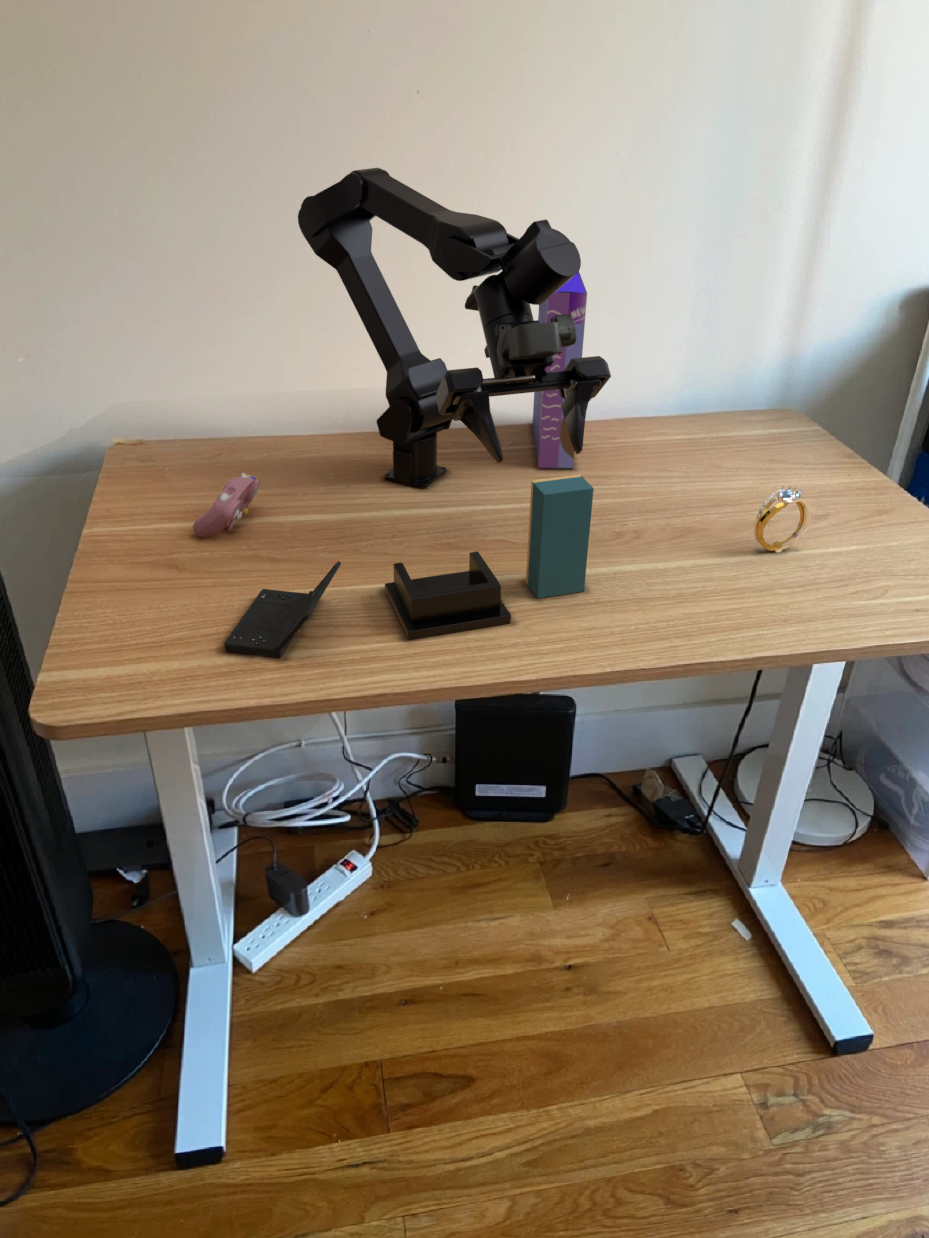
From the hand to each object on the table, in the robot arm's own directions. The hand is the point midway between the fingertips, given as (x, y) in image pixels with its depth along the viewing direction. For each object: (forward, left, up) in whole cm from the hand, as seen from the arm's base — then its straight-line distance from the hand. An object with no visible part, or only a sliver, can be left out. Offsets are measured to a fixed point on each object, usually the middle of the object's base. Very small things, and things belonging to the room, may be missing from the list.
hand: (540, 457), depth 103 cm
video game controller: (+9, -37, -13) cm, 40 cm away
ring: (-16, +24, -13) cm, 32 cm away
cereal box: (-33, -12, -13) cm, 37 cm away
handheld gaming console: (+25, -17, -13) cm, 33 cm away
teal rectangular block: (+5, +4, -13) cm, 14 cm away
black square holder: (+14, -4, -13) cm, 19 cm away
